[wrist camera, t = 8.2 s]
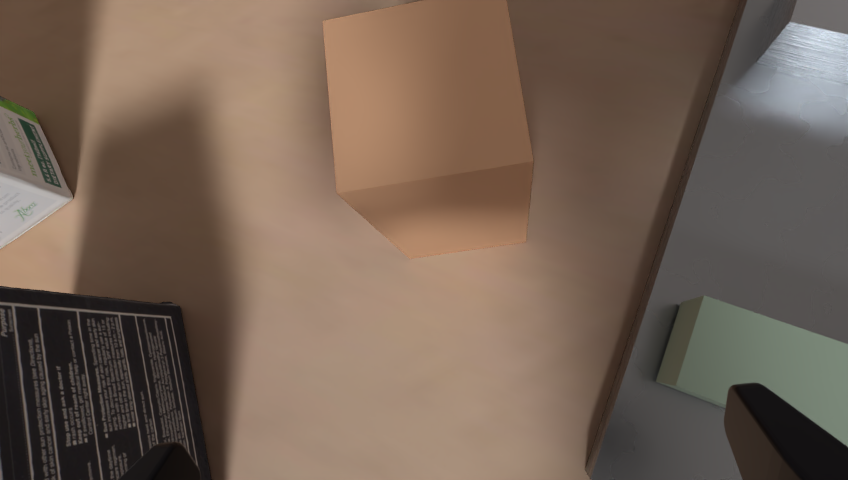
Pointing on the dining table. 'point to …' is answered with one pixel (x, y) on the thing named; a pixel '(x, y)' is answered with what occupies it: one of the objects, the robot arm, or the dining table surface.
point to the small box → (91, 385)
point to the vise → (743, 230)
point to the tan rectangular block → (431, 124)
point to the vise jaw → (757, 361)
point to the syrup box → (26, 173)
